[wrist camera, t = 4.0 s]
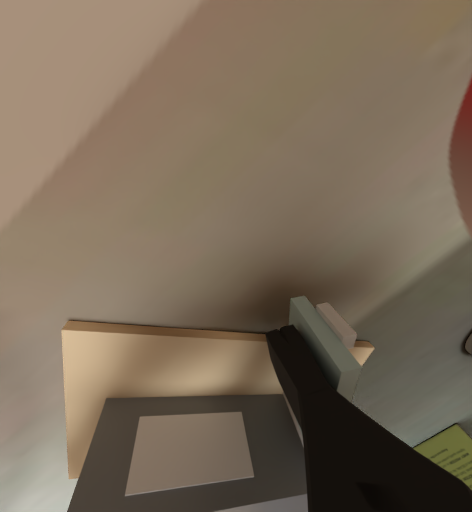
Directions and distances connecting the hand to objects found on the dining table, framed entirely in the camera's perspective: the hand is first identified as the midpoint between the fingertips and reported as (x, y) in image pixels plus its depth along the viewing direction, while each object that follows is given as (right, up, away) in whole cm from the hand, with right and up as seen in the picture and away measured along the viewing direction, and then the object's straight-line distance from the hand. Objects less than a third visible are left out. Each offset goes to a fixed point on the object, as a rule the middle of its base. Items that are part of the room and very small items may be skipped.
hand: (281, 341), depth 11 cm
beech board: (-3, -7, +5) cm, 9 cm away
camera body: (-5, -8, +4) cm, 11 cm away
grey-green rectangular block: (+1, -1, +2) cm, 3 cm away
